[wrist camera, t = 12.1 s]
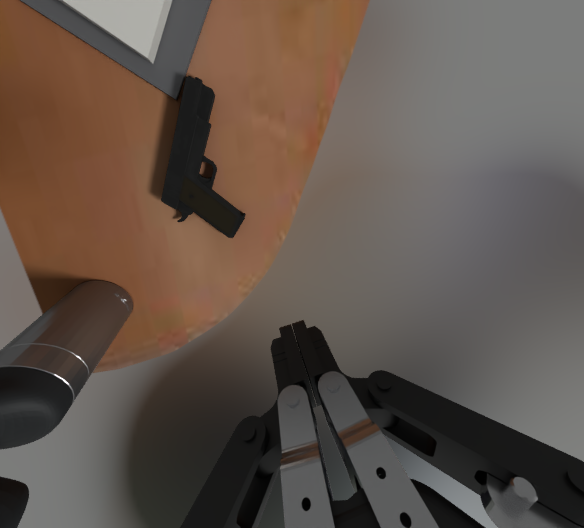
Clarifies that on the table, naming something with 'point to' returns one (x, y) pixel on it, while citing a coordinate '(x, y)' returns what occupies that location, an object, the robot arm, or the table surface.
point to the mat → (162, 73)
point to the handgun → (196, 164)
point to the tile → (127, 21)
